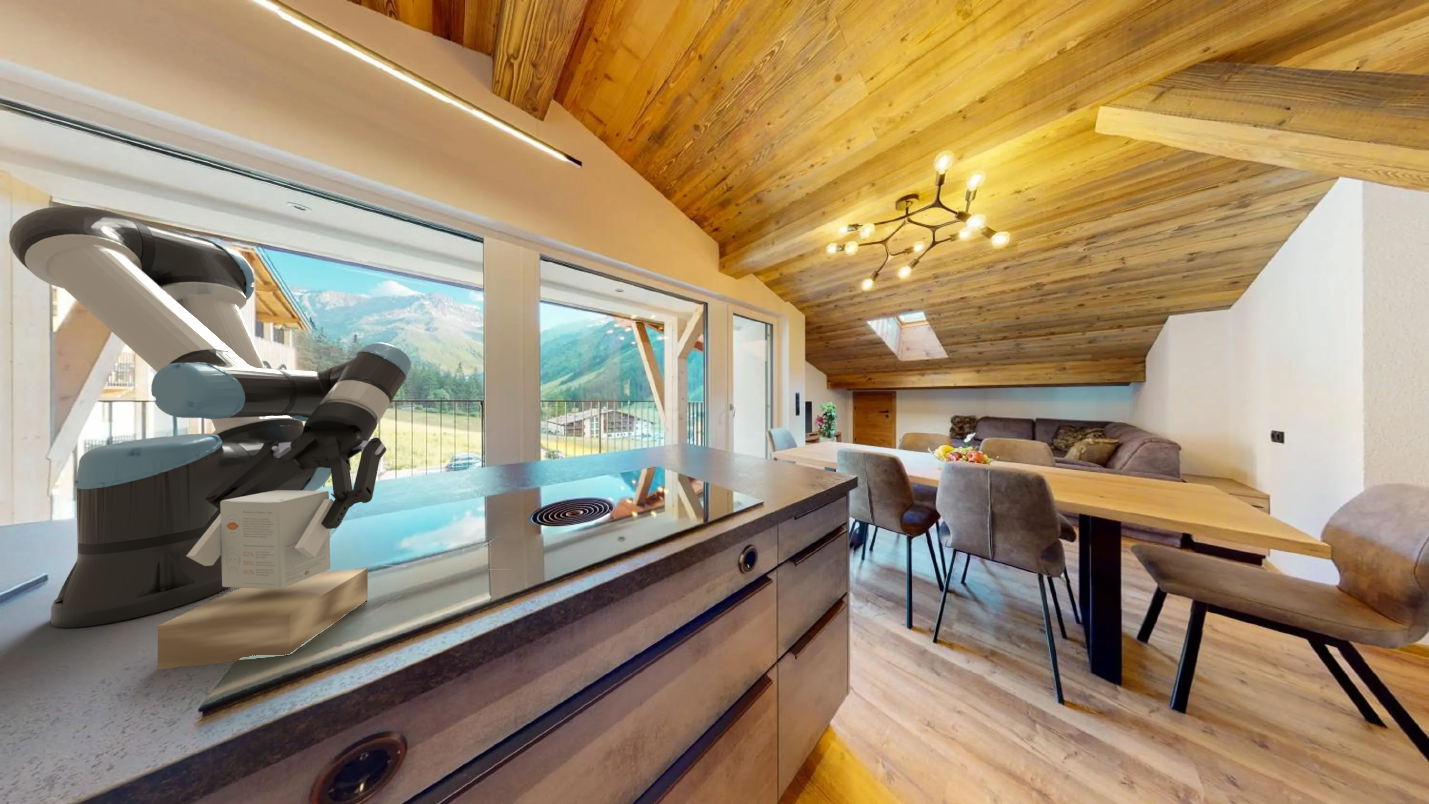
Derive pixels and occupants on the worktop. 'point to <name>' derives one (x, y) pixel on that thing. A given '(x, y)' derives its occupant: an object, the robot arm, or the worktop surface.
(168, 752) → the worktop surface
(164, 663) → the maple block
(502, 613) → the worktop surface
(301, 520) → the small box
